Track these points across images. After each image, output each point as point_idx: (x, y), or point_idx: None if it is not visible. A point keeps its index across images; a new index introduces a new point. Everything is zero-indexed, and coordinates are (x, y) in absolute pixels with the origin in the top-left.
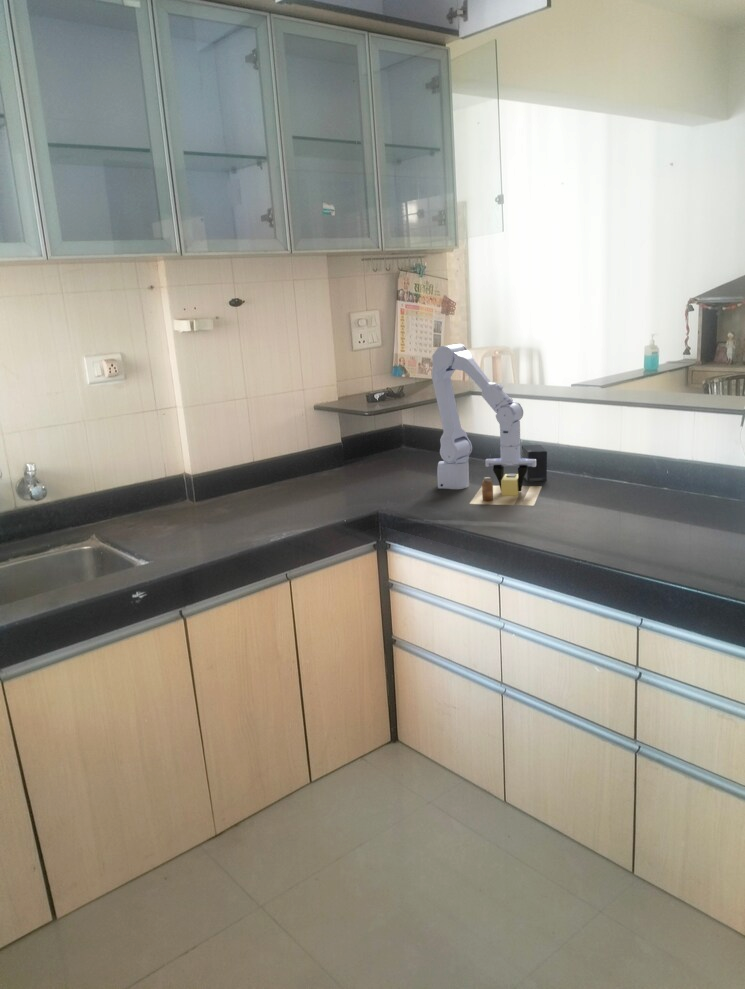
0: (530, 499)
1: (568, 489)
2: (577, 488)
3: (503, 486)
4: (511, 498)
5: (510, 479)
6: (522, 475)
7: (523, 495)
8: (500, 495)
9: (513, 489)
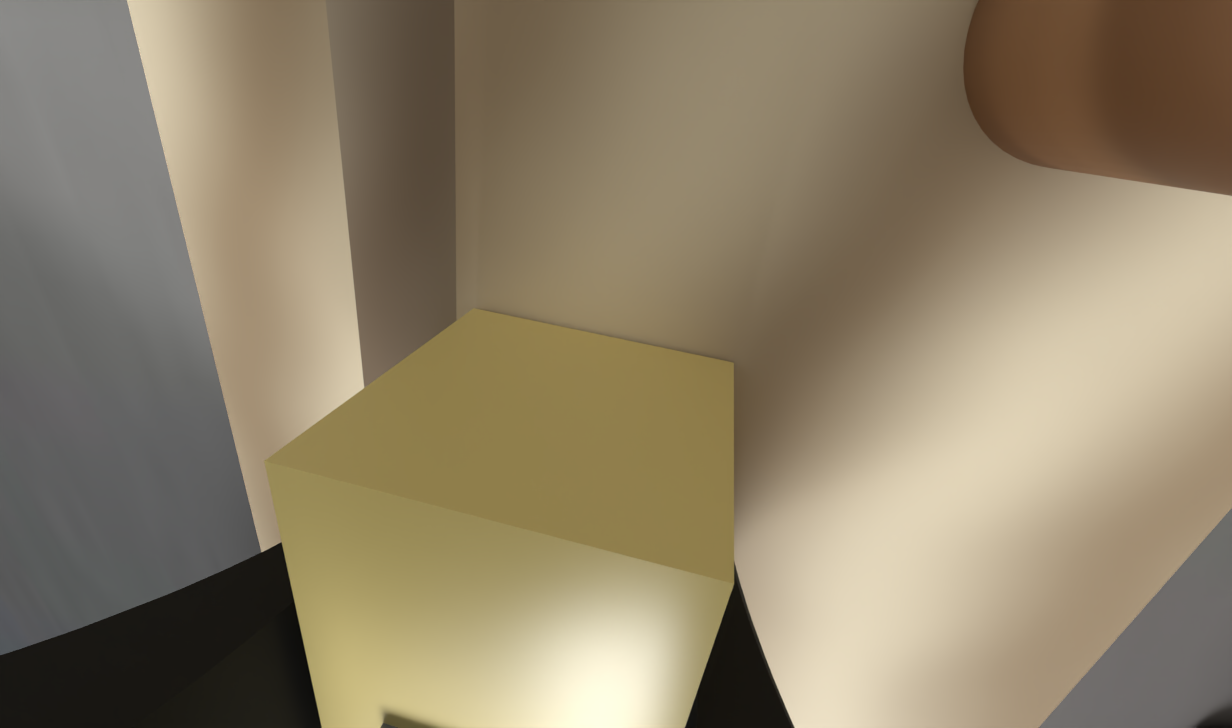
0: (225, 50)
1: (108, 563)
2: (60, 572)
3: (676, 444)
4: (554, 141)
5: (454, 600)
6: (89, 650)
7: (386, 322)
8: (749, 373)
9: (479, 362)
